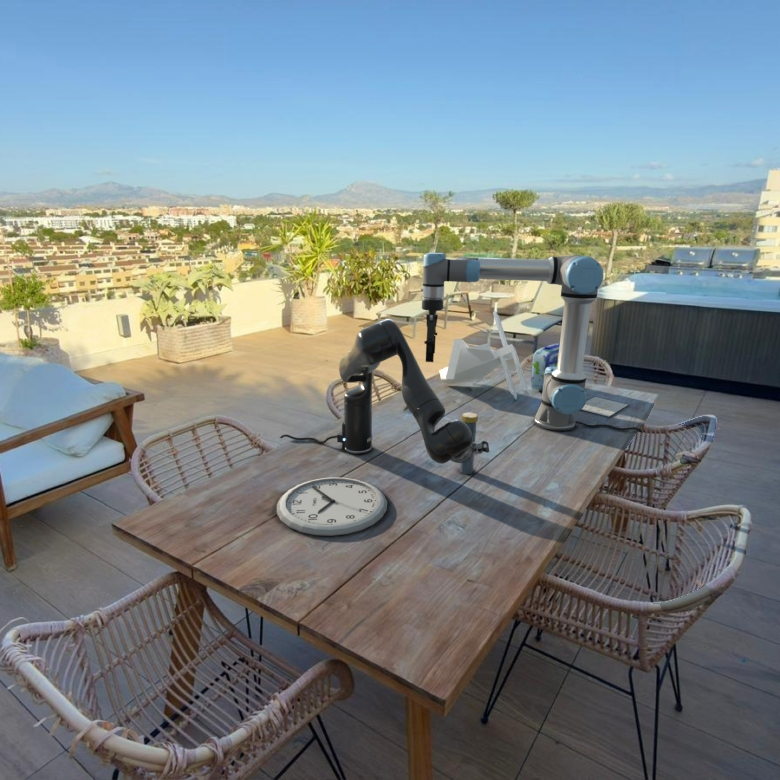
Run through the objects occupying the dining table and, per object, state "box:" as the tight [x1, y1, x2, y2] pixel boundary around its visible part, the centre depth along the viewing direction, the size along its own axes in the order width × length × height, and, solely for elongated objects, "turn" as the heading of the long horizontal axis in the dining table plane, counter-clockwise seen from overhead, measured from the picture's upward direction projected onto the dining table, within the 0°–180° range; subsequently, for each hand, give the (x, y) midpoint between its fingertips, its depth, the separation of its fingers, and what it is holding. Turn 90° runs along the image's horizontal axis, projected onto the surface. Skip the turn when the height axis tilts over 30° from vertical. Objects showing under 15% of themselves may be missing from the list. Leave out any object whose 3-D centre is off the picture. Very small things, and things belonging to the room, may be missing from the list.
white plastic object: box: [438, 310, 531, 400], centre depth 245 cm, size 37×45×31 cm
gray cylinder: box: [459, 420, 477, 475], centre depth 161 cm, size 4×4×18 cm
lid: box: [461, 412, 479, 423], centre depth 159 cm, size 5×5×2 cm
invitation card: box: [580, 396, 629, 418], centre depth 226 cm, size 21×1×15 cm
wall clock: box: [276, 476, 388, 537], centre depth 142 cm, size 30×2×30 cm
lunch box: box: [530, 343, 560, 391], centre depth 249 cm, size 26×11×21 cm, turn 134°
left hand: (464, 451), depth 146 cm, fingers open, 8 cm apart
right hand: (430, 357), depth 190 cm, fingers open, 13 cm apart
